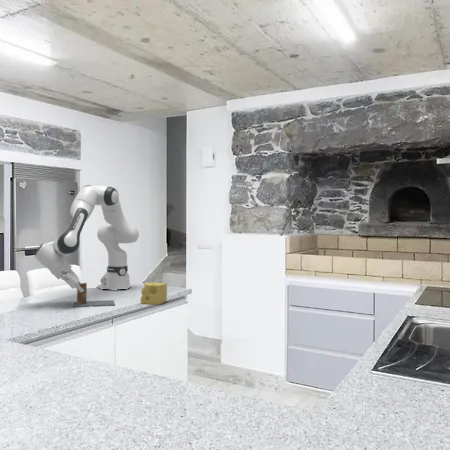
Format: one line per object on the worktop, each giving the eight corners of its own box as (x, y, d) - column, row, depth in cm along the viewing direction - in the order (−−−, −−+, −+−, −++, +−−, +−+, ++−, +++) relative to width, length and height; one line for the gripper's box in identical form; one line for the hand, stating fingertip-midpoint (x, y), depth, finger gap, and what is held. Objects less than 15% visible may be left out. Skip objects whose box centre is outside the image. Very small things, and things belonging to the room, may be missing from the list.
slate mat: (72, 307, 224) (72, 306, 224) (73, 302, 236) (73, 301, 236) (114, 305, 230) (114, 304, 230) (113, 301, 242) (113, 300, 242)
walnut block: (77, 304, 228) (77, 284, 228) (77, 302, 233) (77, 283, 233) (86, 304, 230) (86, 284, 230) (86, 302, 234) (86, 282, 234)
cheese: (140, 303, 236) (140, 284, 236) (149, 300, 247) (150, 281, 246) (159, 305, 233) (159, 285, 233) (167, 301, 244) (167, 282, 243)
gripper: (66, 268, 219) (87, 288, 222) (68, 264, 238) (87, 282, 241) (56, 278, 218) (78, 298, 221) (59, 272, 237) (78, 291, 240)
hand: (83, 289), depth 231 cm, fingers open, 8 cm apart
